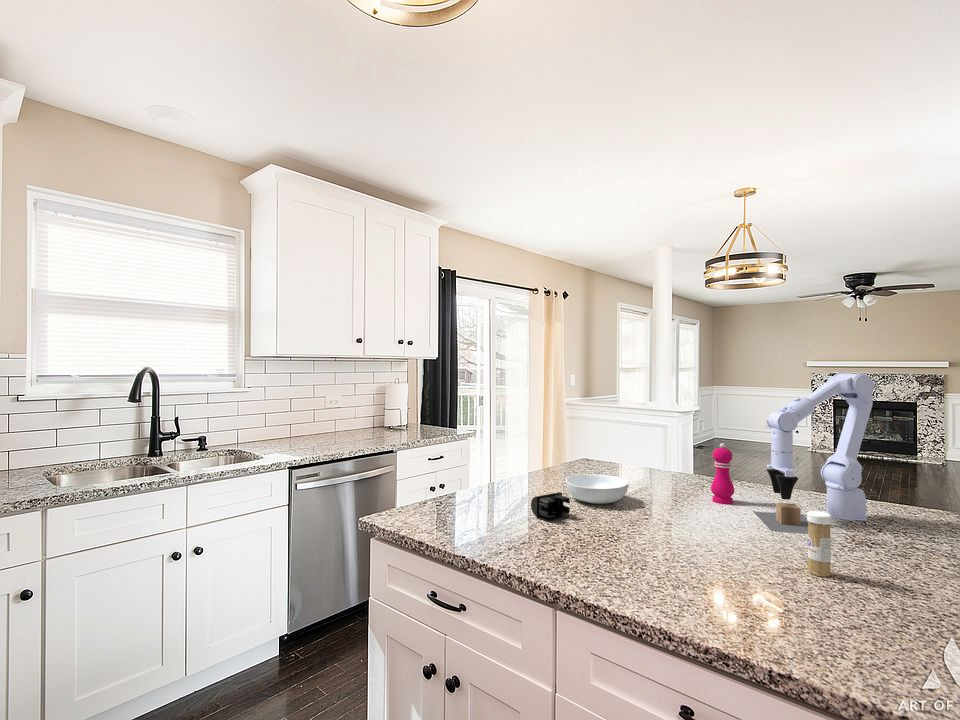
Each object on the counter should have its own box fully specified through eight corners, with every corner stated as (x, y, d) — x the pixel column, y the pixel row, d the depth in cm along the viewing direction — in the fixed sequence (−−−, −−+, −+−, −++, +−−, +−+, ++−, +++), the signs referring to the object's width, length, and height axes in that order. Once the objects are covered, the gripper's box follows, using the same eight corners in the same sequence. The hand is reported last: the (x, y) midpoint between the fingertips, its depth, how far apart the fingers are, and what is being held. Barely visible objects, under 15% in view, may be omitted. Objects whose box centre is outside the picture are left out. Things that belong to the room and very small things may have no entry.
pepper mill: (737, 506, 172) (737, 445, 172) (713, 504, 174) (713, 444, 174) (731, 500, 179) (731, 441, 180) (708, 499, 181) (708, 441, 181)
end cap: (555, 511, 166) (555, 490, 166) (570, 517, 160) (571, 495, 160) (530, 516, 160) (530, 494, 160) (545, 522, 154) (545, 499, 154)
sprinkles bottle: (802, 569, 119) (802, 510, 119) (821, 569, 120) (821, 510, 120) (817, 578, 115) (817, 516, 115) (836, 577, 115) (836, 515, 115)
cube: (794, 503, 156) (800, 508, 151) (794, 520, 156) (800, 525, 151) (775, 502, 157) (781, 507, 152) (775, 519, 157) (781, 524, 152)
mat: (802, 515, 162) (802, 514, 162) (828, 536, 142) (828, 535, 142) (752, 512, 165) (753, 511, 165) (771, 532, 146) (771, 531, 146)
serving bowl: (554, 496, 184) (554, 477, 184) (602, 490, 193) (602, 472, 193) (590, 512, 165) (590, 490, 165) (642, 504, 174) (642, 484, 174)
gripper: (760, 446, 168) (760, 489, 168) (774, 454, 154) (774, 501, 153) (785, 447, 166) (785, 490, 166) (801, 455, 152) (801, 502, 152)
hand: (781, 496), depth 160 cm, fingers open, 7 cm apart
